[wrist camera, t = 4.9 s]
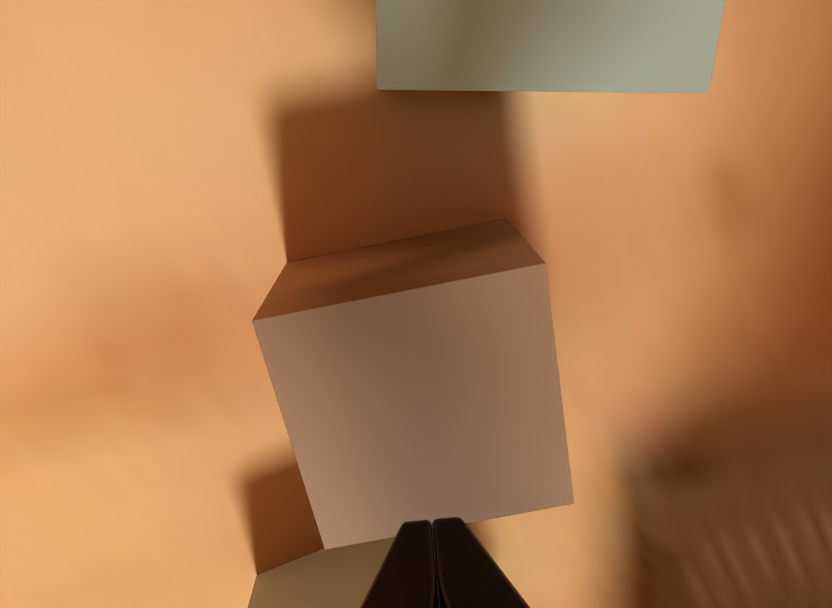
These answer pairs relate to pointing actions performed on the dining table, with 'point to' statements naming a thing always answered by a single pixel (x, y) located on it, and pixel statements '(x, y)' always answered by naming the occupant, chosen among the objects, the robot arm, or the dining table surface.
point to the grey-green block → (547, 45)
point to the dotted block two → (322, 578)
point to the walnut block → (419, 381)
